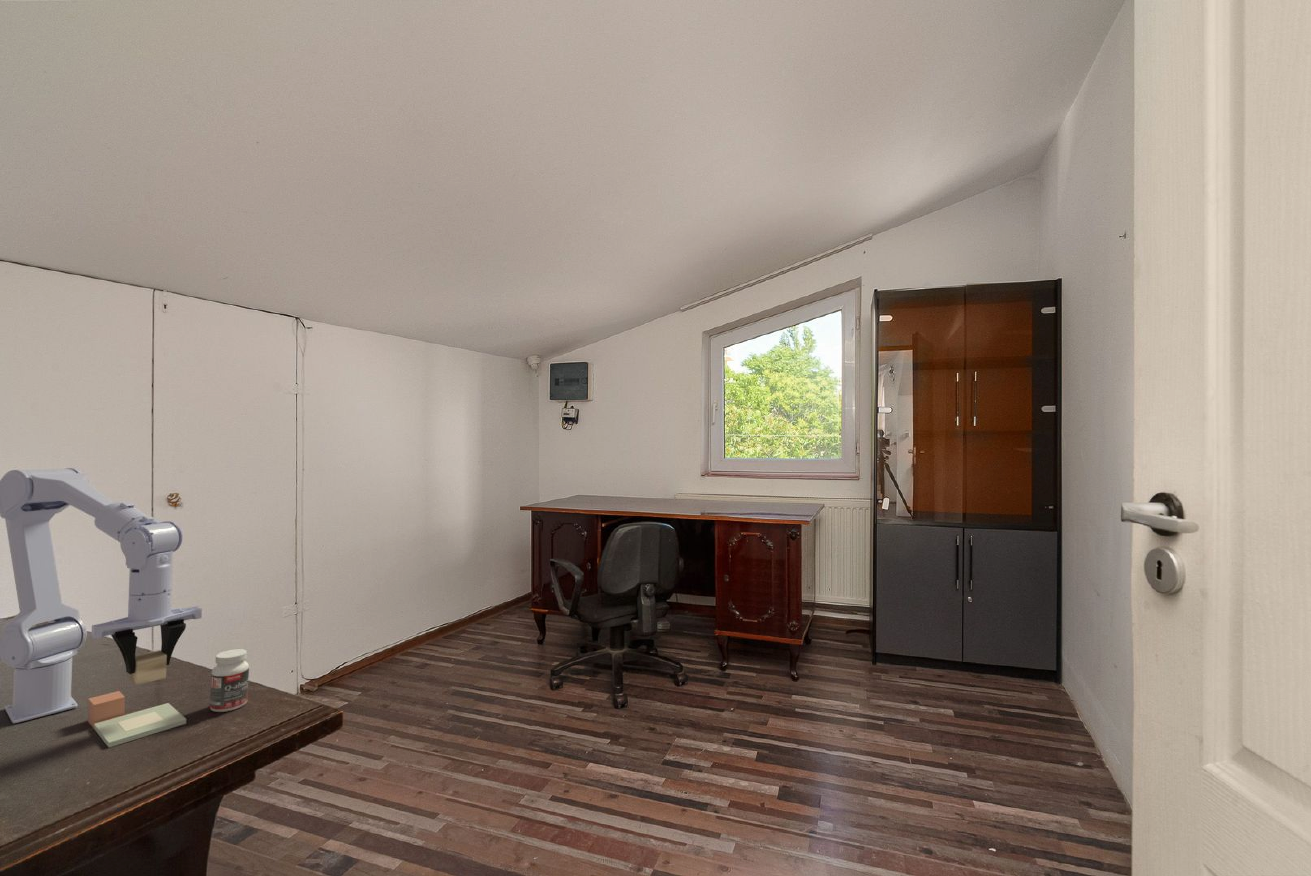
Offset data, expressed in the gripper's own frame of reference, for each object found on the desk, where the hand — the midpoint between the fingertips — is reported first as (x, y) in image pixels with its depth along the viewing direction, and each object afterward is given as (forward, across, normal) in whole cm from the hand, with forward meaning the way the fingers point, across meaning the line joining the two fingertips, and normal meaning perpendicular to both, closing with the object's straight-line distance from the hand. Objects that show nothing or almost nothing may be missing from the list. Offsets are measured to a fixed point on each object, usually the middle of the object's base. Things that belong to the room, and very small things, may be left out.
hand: (148, 668), depth 100 cm
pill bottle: (+10, +11, -4) cm, 15 cm away
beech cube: (+2, 0, 0) cm, 2 cm away
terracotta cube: (+10, -4, +6) cm, 12 cm away
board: (+10, -1, -1) cm, 10 cm away
